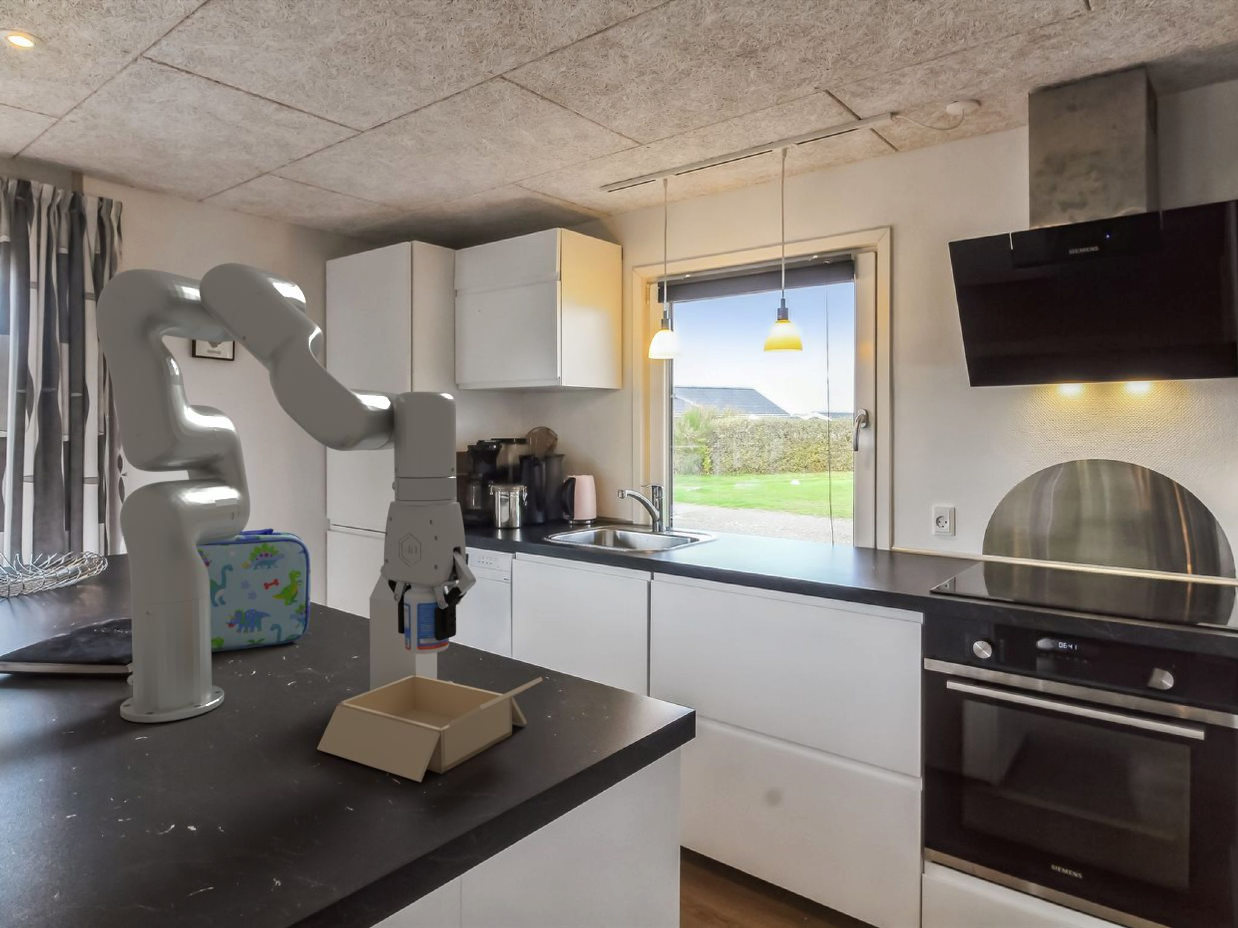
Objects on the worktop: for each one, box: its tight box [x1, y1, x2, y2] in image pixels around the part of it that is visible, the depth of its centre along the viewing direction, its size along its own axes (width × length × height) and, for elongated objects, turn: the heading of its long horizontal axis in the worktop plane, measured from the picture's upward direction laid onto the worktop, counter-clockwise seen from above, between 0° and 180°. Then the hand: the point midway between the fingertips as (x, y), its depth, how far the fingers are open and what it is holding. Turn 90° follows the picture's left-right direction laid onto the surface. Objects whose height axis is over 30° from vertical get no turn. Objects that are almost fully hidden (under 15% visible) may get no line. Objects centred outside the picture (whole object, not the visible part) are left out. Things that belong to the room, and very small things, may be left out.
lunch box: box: [196, 527, 312, 653], centre depth 138 cm, size 26×11×21 cm, turn 120°
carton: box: [316, 675, 528, 783], centre depth 98 cm, size 20×20×5 cm
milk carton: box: [369, 565, 438, 691], centre depth 113 cm, size 7×7×19 cm
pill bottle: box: [404, 583, 450, 654], centre depth 97 cm, size 6×5×10 cm
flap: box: [448, 676, 544, 727], centre depth 92 cm, size 1×12×6 cm
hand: (427, 633), depth 97 cm, fingers closed on pill bottle, 5 cm apart
